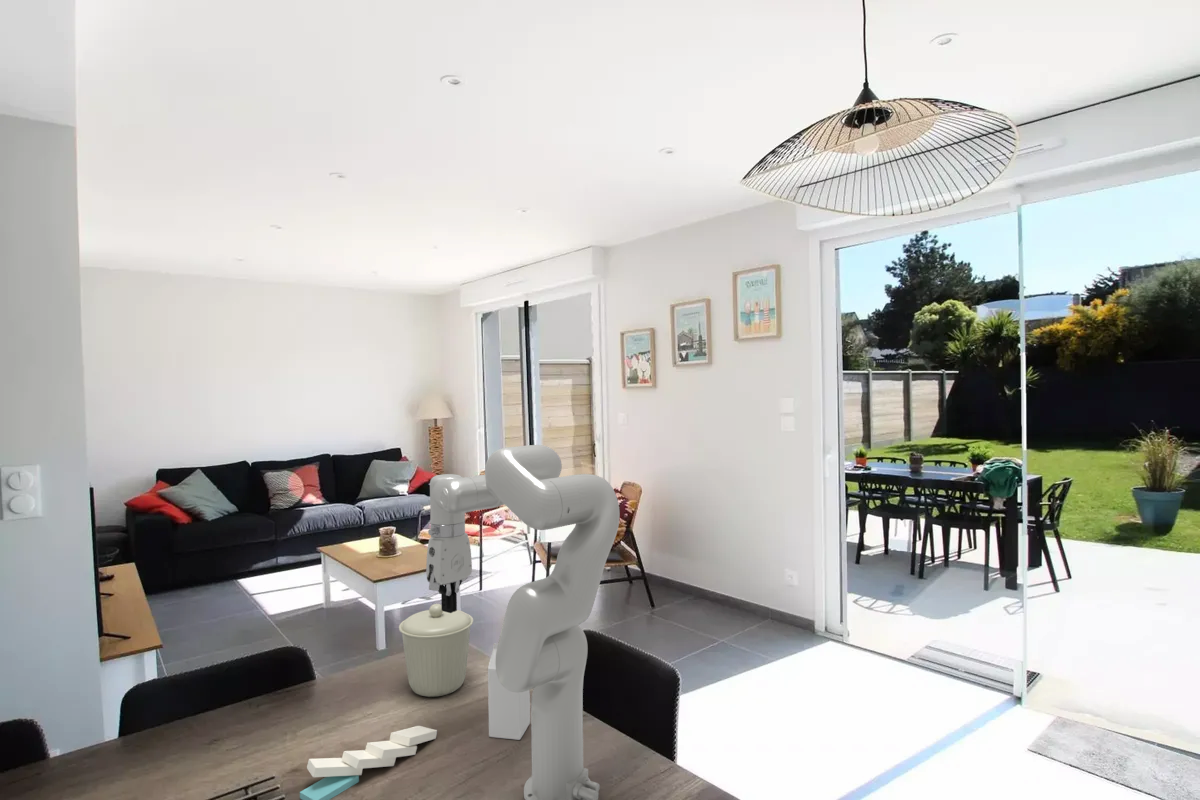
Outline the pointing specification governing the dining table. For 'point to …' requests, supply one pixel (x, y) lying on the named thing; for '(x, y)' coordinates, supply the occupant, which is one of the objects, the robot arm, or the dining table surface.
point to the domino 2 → (328, 787)
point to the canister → (436, 650)
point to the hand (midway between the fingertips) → (449, 610)
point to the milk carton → (506, 706)
